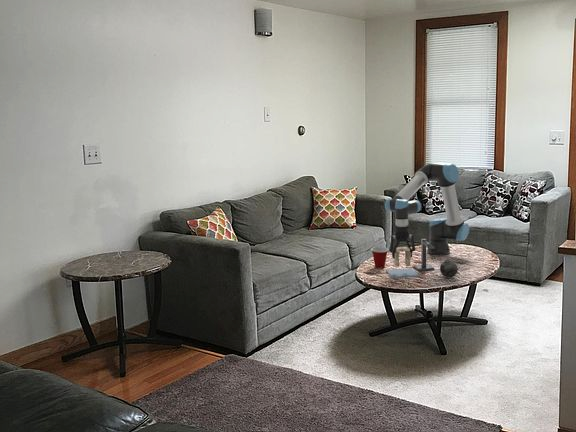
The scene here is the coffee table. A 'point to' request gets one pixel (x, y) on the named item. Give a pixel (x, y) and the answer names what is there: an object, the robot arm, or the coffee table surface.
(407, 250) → the wooden u-bracket
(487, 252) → the coffee table surface
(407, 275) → the mat
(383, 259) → the plastic cup
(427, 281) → the coffee table surface
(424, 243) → the stand
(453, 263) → the decorative stone
